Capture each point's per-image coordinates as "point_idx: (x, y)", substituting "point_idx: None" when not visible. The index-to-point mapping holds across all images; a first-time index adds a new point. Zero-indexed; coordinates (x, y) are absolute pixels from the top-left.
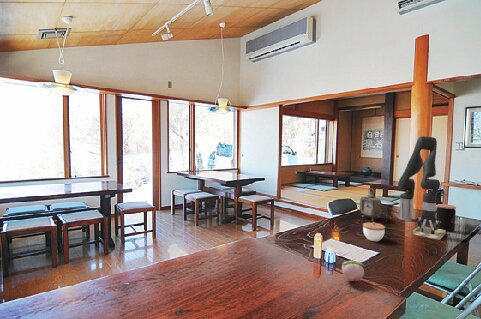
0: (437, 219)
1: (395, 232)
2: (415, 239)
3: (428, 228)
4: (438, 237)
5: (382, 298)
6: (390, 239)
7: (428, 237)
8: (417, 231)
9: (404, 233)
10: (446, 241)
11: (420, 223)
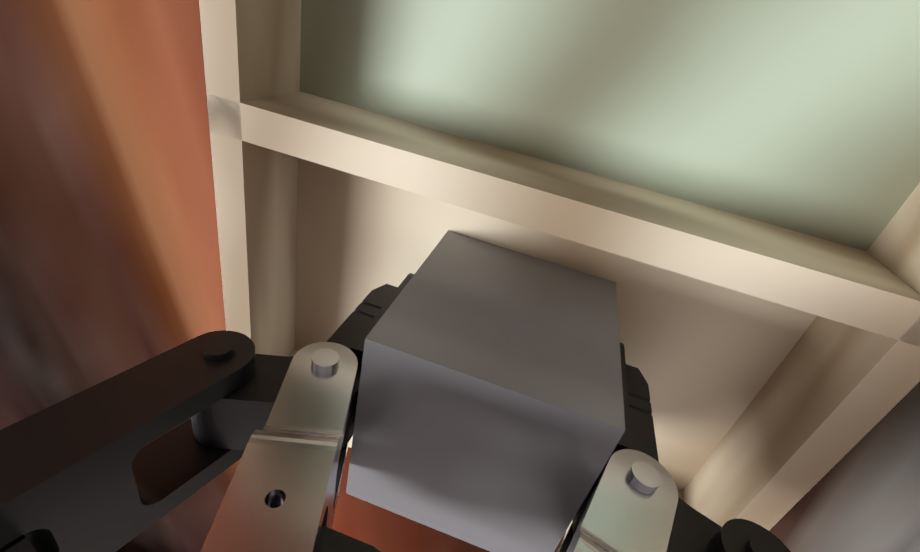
0: None
1: (82, 309)
2: (357, 502)
3: (472, 521)
4: None
5: None
6: (179, 548)
7: None
8: None
9: (175, 302)
10: (835, 477)
11: (177, 425)
